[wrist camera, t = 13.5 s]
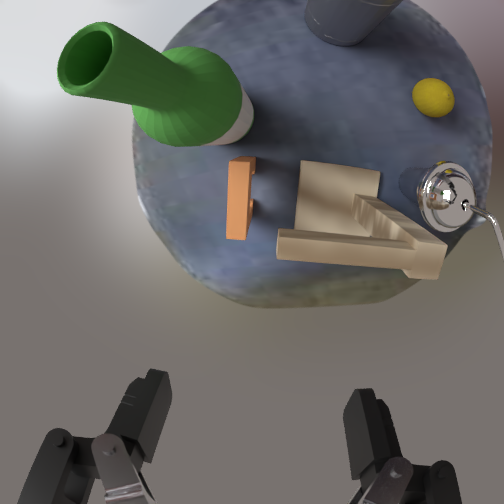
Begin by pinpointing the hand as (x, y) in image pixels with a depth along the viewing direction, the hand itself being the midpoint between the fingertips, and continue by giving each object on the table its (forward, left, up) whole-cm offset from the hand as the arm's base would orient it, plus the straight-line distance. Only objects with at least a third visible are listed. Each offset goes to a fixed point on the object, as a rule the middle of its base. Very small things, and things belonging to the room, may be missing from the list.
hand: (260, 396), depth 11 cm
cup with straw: (-7, +20, -30) cm, 37 cm away
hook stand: (-3, +8, -30) cm, 31 cm away
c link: (-4, -3, -30) cm, 31 cm away
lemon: (-20, +20, -30) cm, 42 cm away
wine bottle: (-13, -7, -30) cm, 34 cm away
